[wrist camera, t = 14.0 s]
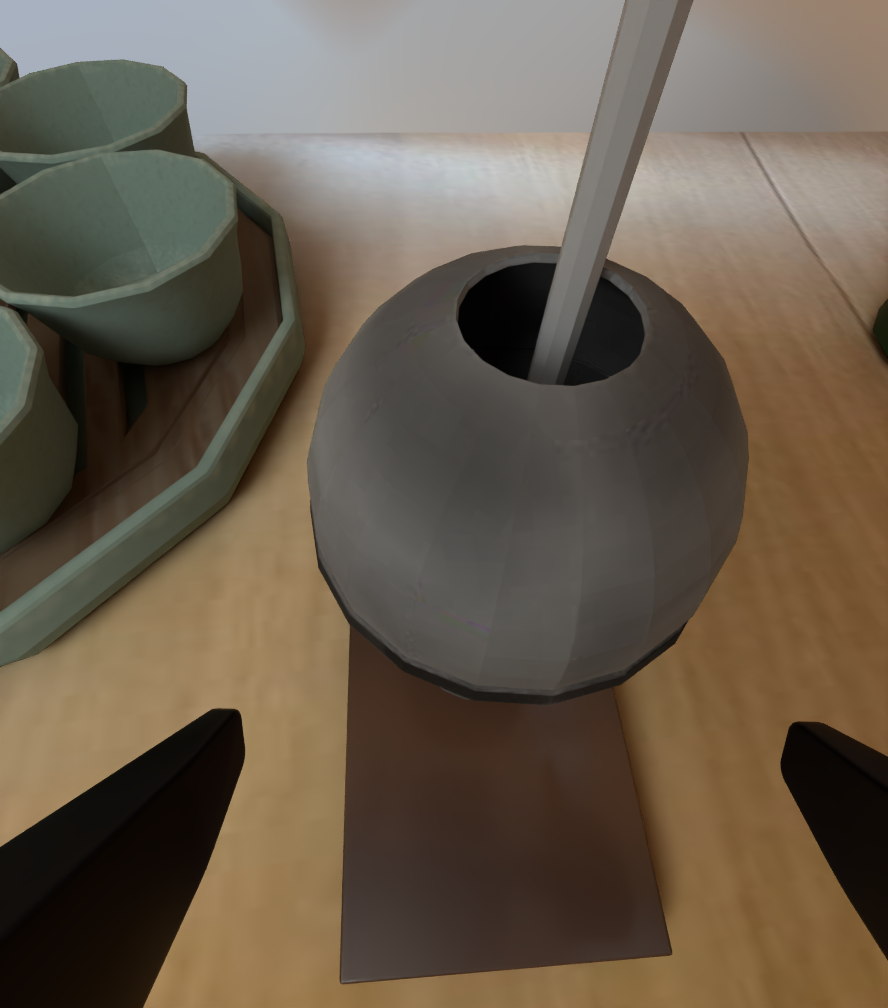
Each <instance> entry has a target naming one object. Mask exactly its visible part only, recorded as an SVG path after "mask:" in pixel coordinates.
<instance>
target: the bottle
mask: <svg viewBox="0 0 888 1008" xmlns="http://www.w3.org/2000/svg"><path fill="white" fill-rule="evenodd" d="M873 332H874V334H875V335H876V337H877V339H878V341H879V343H880V344H881V346H882V348H883V350H884V352H885V353H886V355H887V357H888V299H887V300H886V301H885V303H884V304H883V305H882V306H881V307H880V309H879V311H878V314H877V318H876V321H875V325H874V328H873Z"/></svg>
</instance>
